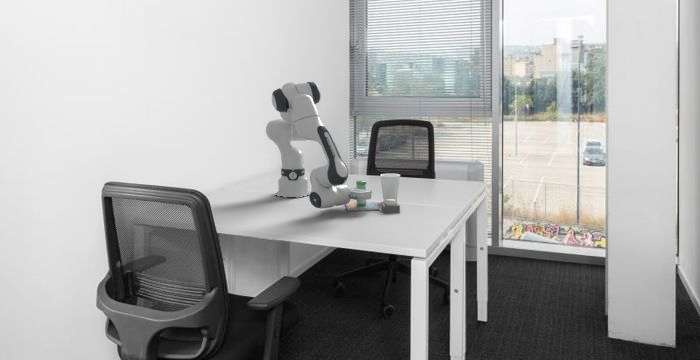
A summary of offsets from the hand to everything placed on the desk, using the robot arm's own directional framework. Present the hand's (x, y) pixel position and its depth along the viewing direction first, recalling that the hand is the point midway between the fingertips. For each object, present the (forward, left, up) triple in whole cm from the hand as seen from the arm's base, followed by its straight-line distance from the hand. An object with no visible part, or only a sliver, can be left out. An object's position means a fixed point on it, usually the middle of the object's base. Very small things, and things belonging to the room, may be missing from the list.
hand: (362, 190), depth 247 cm
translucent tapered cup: (-9, +14, -8) cm, 19 cm away
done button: (+11, +11, -6) cm, 17 cm away
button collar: (+11, +11, -8) cm, 17 cm away
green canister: (0, -1, -7) cm, 7 cm away
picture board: (+2, -1, -8) cm, 8 cm away
